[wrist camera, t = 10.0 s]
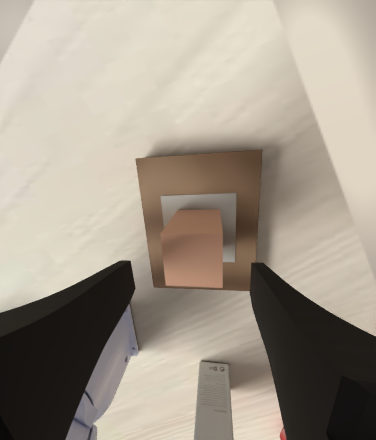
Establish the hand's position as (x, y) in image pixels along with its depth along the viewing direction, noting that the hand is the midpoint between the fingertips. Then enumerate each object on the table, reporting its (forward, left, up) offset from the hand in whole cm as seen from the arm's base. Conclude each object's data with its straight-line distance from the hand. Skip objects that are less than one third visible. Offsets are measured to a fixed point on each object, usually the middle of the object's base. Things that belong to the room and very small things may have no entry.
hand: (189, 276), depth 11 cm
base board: (0, 0, -10) cm, 10 cm away
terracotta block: (0, 0, -8) cm, 8 cm away
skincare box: (-24, -1, -10) cm, 26 cm away
